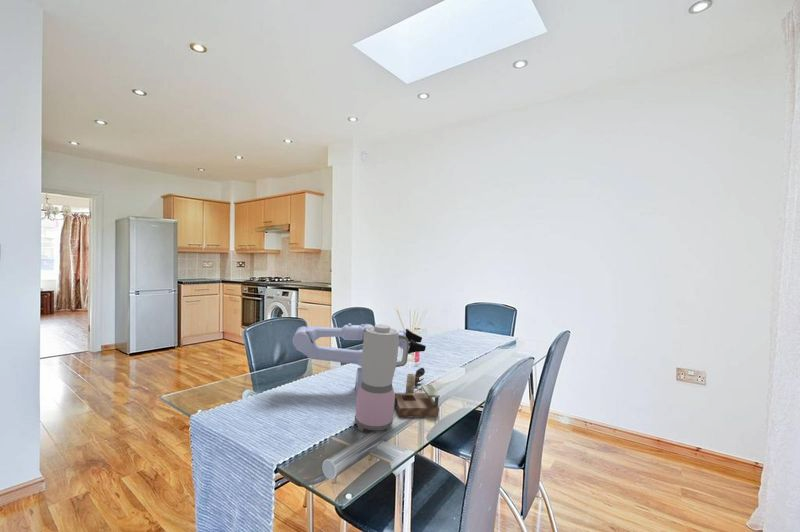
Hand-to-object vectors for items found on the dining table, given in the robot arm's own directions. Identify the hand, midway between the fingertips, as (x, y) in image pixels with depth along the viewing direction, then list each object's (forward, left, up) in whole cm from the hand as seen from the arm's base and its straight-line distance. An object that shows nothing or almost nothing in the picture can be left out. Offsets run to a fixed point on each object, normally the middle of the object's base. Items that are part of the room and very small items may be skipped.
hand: (423, 344), depth 142 cm
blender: (-21, -25, -20) cm, 38 cm away
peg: (-5, -4, -19) cm, 20 cm away
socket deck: (-6, -15, -19) cm, 25 cm away
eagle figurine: (+1, +7, -20) cm, 21 cm away
